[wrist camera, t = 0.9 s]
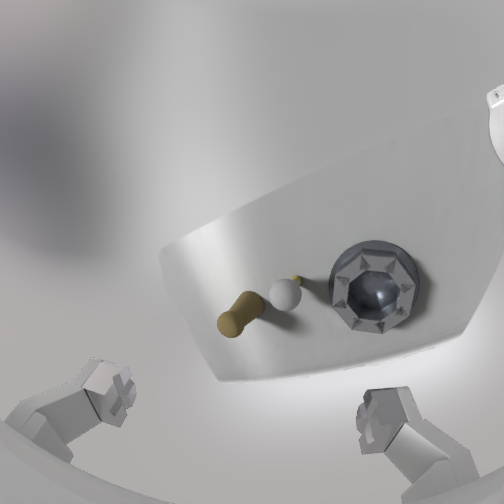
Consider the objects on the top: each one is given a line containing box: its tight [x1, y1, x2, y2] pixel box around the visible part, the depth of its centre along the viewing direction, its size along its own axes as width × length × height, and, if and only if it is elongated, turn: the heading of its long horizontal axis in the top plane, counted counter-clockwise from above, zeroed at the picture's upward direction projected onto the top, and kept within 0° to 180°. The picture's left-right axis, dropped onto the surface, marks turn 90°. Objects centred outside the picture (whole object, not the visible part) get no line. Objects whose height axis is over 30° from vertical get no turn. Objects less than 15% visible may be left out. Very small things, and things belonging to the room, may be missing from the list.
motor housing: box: [329, 240, 419, 334], centre depth 46 cm, size 17×17×5 cm
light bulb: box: [269, 276, 301, 311], centre depth 50 cm, size 6×6×10 cm
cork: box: [217, 291, 264, 338], centre depth 55 cm, size 6×6×11 cm
